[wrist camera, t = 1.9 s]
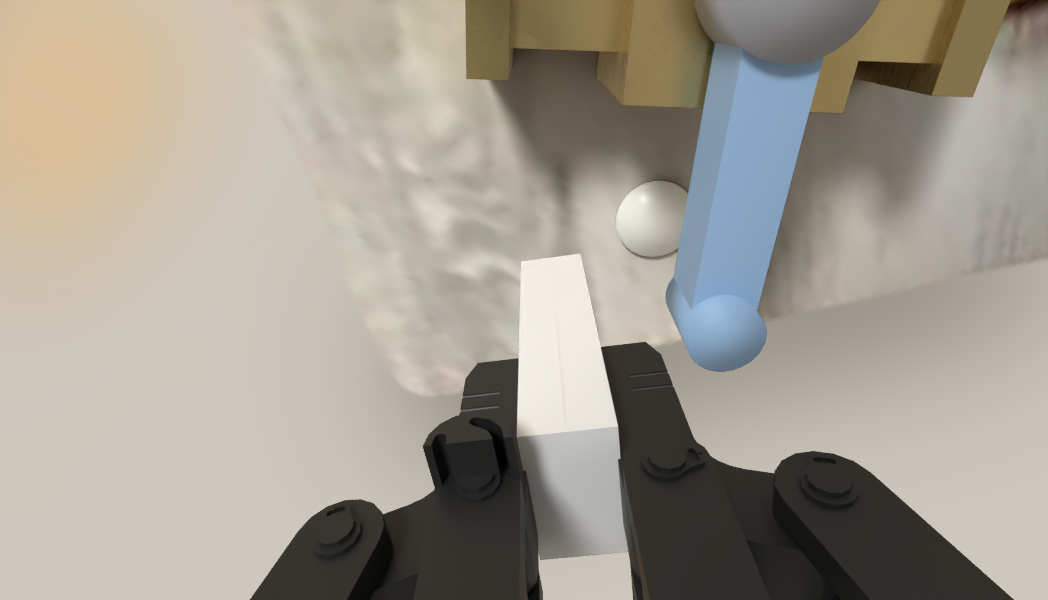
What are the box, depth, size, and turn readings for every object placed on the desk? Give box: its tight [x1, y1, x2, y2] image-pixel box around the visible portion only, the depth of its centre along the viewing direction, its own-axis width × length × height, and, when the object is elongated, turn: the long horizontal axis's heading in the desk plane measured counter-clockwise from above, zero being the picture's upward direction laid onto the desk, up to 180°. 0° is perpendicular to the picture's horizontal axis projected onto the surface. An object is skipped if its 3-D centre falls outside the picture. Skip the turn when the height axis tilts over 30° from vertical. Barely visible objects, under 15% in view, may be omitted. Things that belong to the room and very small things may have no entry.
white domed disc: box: [616, 180, 688, 257], centre depth 31 cm, size 4×4×1 cm
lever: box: [666, 0, 880, 372], centre depth 19 cm, size 15×4×4 cm, turn 178°
